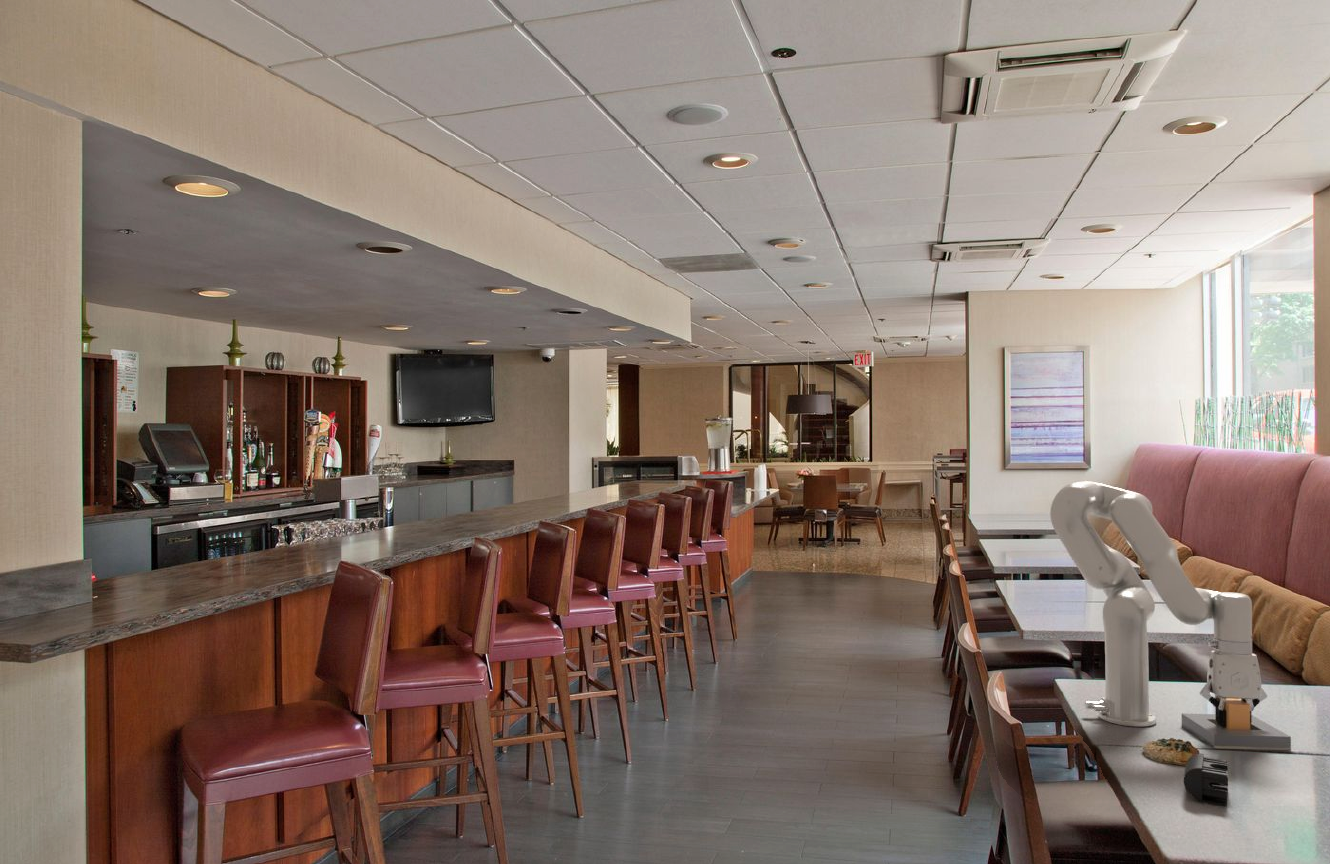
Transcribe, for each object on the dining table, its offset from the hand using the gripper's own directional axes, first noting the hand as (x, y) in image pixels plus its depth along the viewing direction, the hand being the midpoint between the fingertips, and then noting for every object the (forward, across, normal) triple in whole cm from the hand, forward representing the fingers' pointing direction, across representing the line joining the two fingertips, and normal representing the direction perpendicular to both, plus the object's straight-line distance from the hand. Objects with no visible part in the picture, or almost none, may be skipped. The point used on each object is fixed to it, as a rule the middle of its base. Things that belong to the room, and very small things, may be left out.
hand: (1233, 725), depth 212 cm
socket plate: (+3, 0, 0) cm, 3 cm away
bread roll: (+3, -20, -15) cm, 25 cm away
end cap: (+3, -23, -37) cm, 44 cm away
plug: (0, 0, 0) cm, 0 cm away
